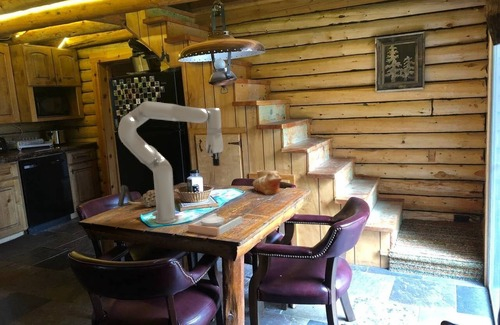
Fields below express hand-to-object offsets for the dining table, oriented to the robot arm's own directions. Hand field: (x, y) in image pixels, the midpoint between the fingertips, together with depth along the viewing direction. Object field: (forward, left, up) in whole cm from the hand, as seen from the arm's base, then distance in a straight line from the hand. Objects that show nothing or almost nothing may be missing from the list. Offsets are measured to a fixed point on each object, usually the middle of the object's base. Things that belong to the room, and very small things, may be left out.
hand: (216, 165), depth 214 cm
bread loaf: (0, +58, -27) cm, 65 cm away
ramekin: (+12, -23, -27) cm, 38 cm away
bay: (+11, -19, -27) cm, 35 cm away
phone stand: (-68, -3, -27) cm, 73 cm away
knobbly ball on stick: (-50, -4, -27) cm, 57 cm away
